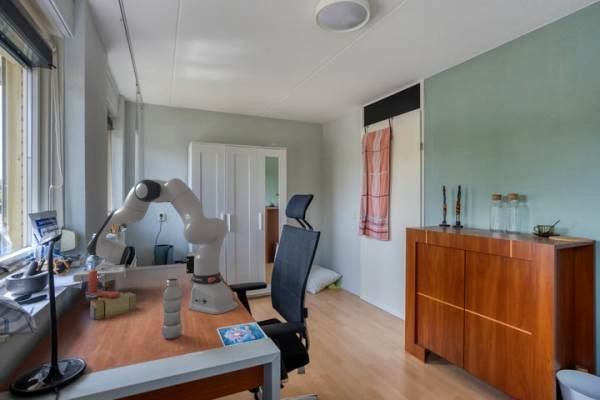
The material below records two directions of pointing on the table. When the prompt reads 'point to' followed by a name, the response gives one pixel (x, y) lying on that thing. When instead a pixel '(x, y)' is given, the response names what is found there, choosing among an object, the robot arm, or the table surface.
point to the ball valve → (190, 264)
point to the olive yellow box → (112, 305)
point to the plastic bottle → (172, 310)
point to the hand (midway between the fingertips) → (95, 279)
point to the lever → (94, 286)
